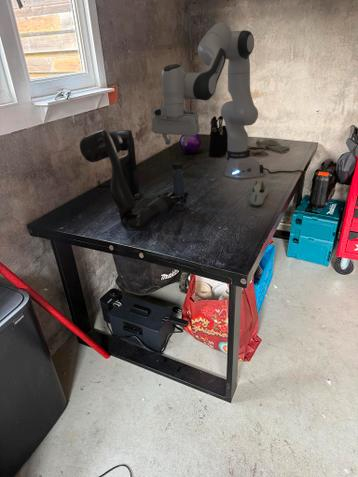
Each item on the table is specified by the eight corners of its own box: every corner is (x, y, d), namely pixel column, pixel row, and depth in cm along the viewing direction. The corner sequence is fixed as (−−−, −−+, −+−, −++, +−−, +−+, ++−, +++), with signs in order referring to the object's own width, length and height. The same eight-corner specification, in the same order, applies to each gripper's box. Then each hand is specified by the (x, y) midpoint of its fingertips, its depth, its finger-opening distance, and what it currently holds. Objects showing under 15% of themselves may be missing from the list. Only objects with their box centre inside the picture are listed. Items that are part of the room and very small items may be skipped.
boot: (223, 139, 261) (223, 113, 251) (220, 148, 241) (220, 119, 231) (212, 139, 263) (212, 113, 253) (208, 147, 242) (208, 119, 232)
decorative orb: (204, 151, 235) (204, 129, 228) (194, 156, 225) (193, 134, 217) (186, 149, 243) (186, 128, 235) (175, 154, 232) (174, 132, 224)
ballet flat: (269, 188, 169) (270, 173, 165) (265, 208, 149) (266, 191, 145) (252, 187, 171) (253, 172, 167) (246, 206, 151) (247, 190, 147)
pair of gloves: (254, 158, 214) (255, 150, 211) (233, 150, 234) (233, 142, 232) (291, 151, 223) (292, 143, 221) (268, 143, 244) (269, 136, 241)
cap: (171, 168, 143) (170, 164, 142) (175, 165, 147) (175, 161, 146) (179, 169, 142) (179, 165, 141) (184, 166, 145) (183, 162, 144)
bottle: (173, 209, 153) (170, 165, 142) (177, 206, 157) (175, 162, 146) (182, 211, 151) (179, 166, 141) (186, 207, 155) (184, 163, 144)
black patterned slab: (219, 158, 219) (220, 119, 206) (207, 156, 223) (207, 118, 211) (232, 150, 234) (233, 113, 221) (221, 149, 238) (221, 112, 226)
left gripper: (173, 201, 135) (195, 188, 147) (146, 195, 142) (169, 183, 154) (174, 218, 139) (195, 203, 151) (148, 211, 146) (170, 197, 158)
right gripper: (201, 109, 130) (201, 144, 137) (156, 108, 139) (159, 141, 146) (194, 112, 125) (195, 148, 132) (148, 111, 134) (152, 145, 141)
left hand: (182, 193), depth 152 cm, fingers closed on bottle, 4 cm apart
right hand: (176, 144), depth 139 cm, fingers open, 7 cm apart
